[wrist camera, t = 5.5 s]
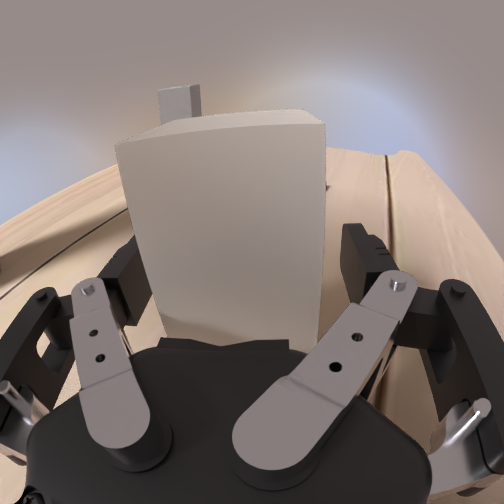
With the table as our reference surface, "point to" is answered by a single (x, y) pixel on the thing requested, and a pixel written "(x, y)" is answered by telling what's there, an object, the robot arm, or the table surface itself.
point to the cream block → (231, 224)
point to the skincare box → (179, 103)
